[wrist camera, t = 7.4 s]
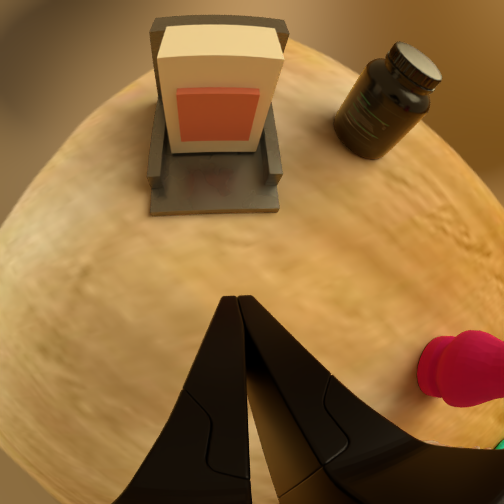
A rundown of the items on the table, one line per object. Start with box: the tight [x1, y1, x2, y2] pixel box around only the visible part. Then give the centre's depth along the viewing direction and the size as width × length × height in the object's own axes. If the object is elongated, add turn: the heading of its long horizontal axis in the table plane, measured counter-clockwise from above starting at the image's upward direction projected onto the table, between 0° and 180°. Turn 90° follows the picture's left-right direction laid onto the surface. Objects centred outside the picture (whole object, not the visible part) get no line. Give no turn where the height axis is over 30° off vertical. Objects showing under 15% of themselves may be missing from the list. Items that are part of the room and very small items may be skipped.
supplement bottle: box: [334, 42, 442, 159], centre depth 20 cm, size 7×7×12 cm
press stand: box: [147, 15, 289, 216], centre depth 18 cm, size 13×10×10 cm
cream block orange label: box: [157, 25, 284, 153], centre depth 17 cm, size 5×7×10 cm, turn 94°
